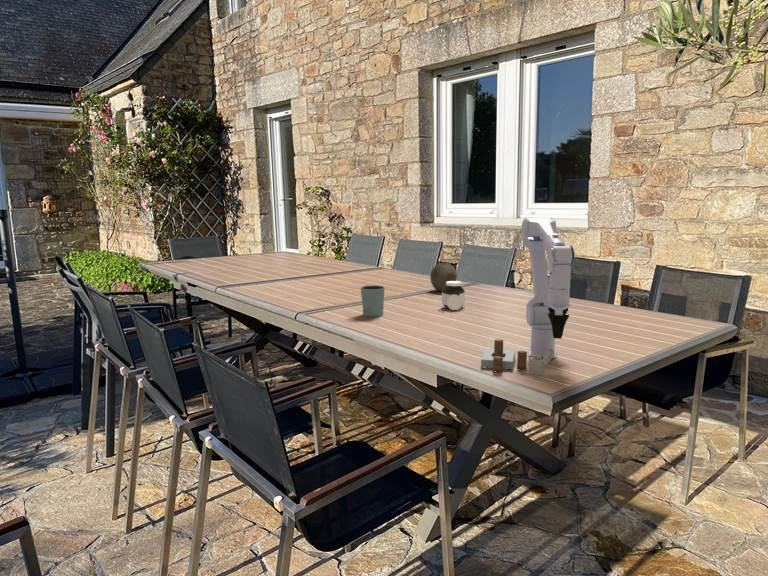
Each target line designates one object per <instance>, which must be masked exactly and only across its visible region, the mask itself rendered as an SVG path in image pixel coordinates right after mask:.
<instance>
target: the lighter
mask: <svg viewBox="0 0 768 576" xmlns="http://www.w3.org/2000/svg"><path fill="white" fill-rule="evenodd" d="M554 352H555V351H554V350H553V349H548V350H547V352H546V354H545V356H544V357H541V356H539V355H533V357H529V359H528V362H529V363H528V373H529V374H532V375H535V376H539V377H542V376H545V372H546V371H545V367H546V365H547V364H549V363H550V361H551V360H552V359H553V358H552V356H553V354H554Z"/></svg>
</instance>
